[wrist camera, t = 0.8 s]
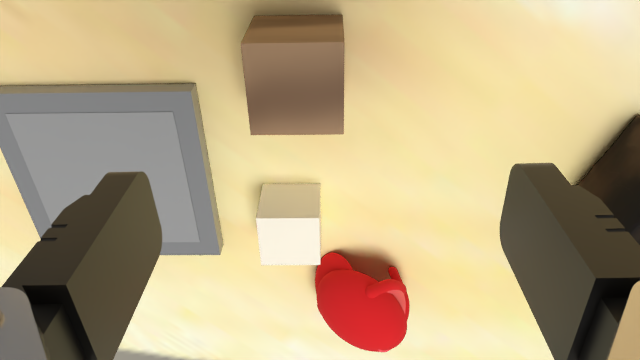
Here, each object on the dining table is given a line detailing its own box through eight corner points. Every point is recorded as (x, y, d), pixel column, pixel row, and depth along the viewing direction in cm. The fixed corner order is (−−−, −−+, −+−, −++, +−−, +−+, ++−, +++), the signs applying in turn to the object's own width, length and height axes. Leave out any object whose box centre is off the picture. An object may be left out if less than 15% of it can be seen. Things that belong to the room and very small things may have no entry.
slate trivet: (-12, 86, 30) (-25, 94, 29) (195, 83, 30) (190, 91, 29) (55, 244, 38) (47, 255, 36) (223, 244, 37) (220, 255, 36)
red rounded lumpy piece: (441, 303, 36) (399, 301, 31) (398, 367, 37) (352, 374, 32) (369, 242, 41) (324, 232, 36) (333, 299, 42) (285, 297, 37)
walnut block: (254, 15, 28) (240, 43, 24) (342, 14, 28) (344, 42, 23) (262, 97, 30) (250, 134, 26) (342, 96, 30) (343, 134, 26)
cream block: (263, 183, 34) (256, 218, 31) (320, 182, 34) (319, 218, 31) (267, 227, 36) (261, 265, 33) (321, 227, 36) (320, 264, 33)
